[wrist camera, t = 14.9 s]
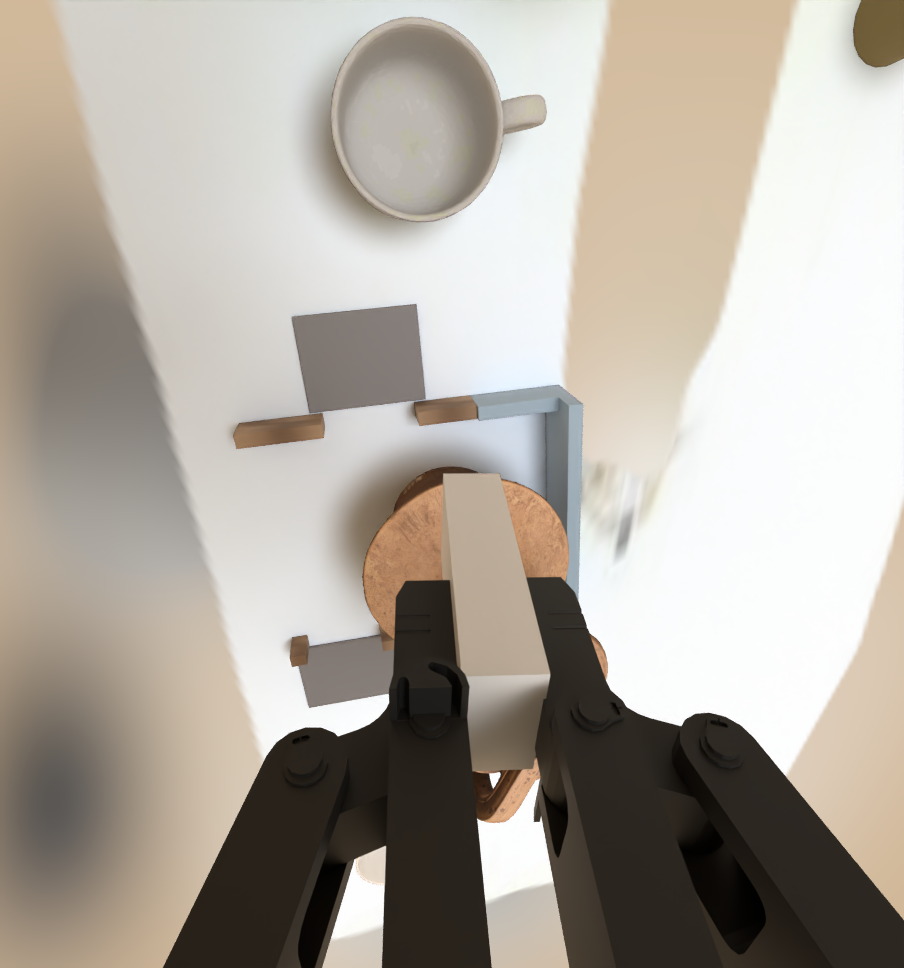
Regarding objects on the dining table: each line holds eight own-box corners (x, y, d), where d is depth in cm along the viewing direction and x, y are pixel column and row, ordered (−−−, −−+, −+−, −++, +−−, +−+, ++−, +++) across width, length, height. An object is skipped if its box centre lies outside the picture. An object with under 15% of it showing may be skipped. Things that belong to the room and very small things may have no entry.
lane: (294, 646, 59) (292, 666, 56) (239, 423, 49) (233, 435, 46) (483, 615, 61) (489, 633, 59) (469, 395, 51) (476, 405, 48)
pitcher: (503, 601, 61) (611, 867, 36) (344, 582, 57) (341, 867, 32) (555, 451, 55) (731, 646, 30) (380, 416, 50) (413, 610, 25)
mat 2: (309, 705, 63) (309, 707, 62) (295, 648, 59) (295, 651, 59) (399, 689, 64) (400, 691, 64) (391, 632, 60) (391, 634, 60)
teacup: (337, 219, 43) (335, 219, 36) (329, 43, 39) (325, 4, 32) (514, 225, 46) (545, 226, 39) (526, 60, 41) (564, 27, 34)
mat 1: (310, 412, 49) (310, 413, 49) (292, 316, 46) (291, 317, 46) (425, 398, 50) (425, 399, 50) (416, 304, 47) (416, 304, 47)
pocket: (484, 615, 61) (497, 653, 56) (470, 395, 51) (484, 416, 46) (557, 602, 62) (577, 638, 57) (558, 384, 52) (583, 403, 47)
